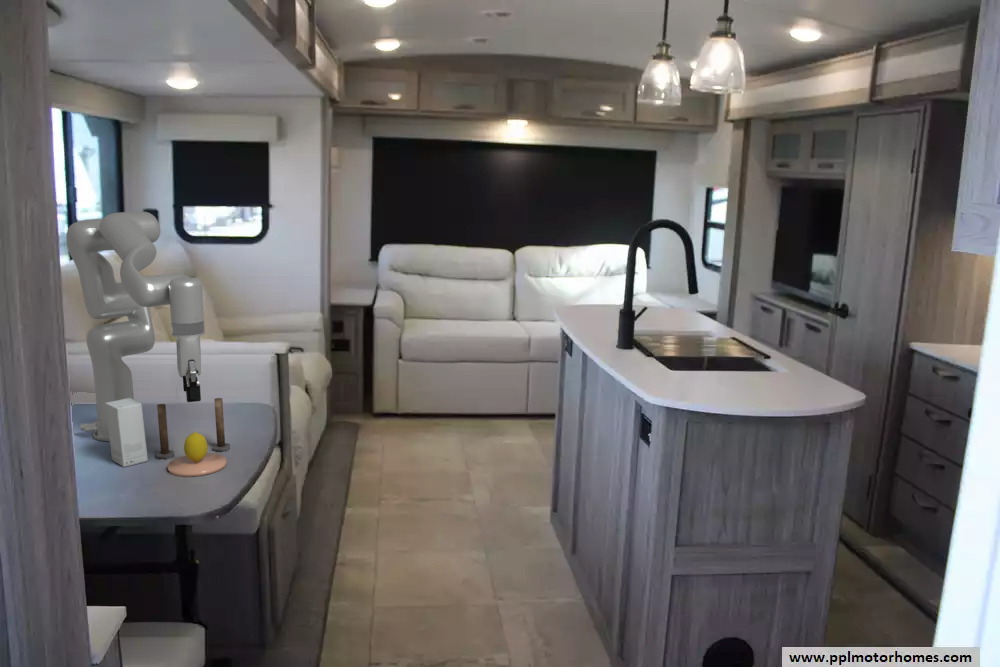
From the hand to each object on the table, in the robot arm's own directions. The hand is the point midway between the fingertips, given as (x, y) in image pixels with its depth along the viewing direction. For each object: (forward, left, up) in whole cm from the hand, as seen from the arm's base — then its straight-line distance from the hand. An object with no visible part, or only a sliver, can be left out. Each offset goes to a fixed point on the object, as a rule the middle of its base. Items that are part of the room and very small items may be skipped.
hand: (192, 396), depth 204 cm
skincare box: (-16, +11, -19) cm, 27 cm away
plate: (0, 0, -18) cm, 18 cm away
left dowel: (-7, +11, -19) cm, 22 cm away
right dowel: (+7, +11, -19) cm, 23 cm away
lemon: (0, 0, -18) cm, 18 cm away
